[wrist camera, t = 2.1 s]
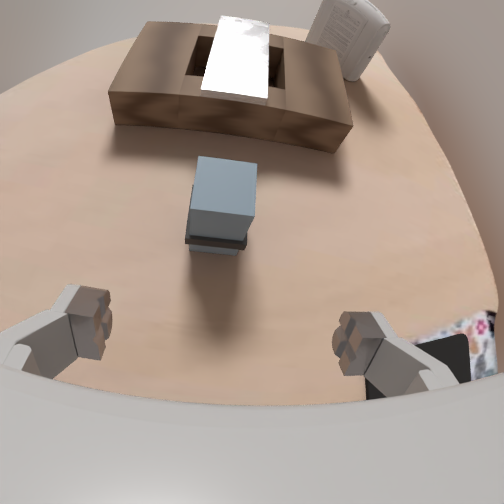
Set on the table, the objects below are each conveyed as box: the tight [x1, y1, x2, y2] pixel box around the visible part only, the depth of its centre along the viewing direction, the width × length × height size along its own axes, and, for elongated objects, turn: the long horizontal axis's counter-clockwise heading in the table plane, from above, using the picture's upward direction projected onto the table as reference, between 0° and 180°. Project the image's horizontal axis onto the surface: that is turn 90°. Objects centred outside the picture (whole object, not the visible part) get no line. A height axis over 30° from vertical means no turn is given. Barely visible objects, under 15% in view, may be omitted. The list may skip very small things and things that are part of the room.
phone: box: [365, 334, 471, 400], centre depth 27 cm, size 7×1×15 cm
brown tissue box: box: [108, 22, 353, 153], centre depth 31 cm, size 24×14×5 cm, turn 87°
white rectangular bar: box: [200, 16, 269, 106], centre depth 30 cm, size 6×15×4 cm, turn 177°
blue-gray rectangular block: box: [185, 156, 257, 256], centre depth 24 cm, size 5×5×8 cm
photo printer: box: [305, 0, 390, 81], centre depth 34 cm, size 10×4×12 cm, turn 38°
